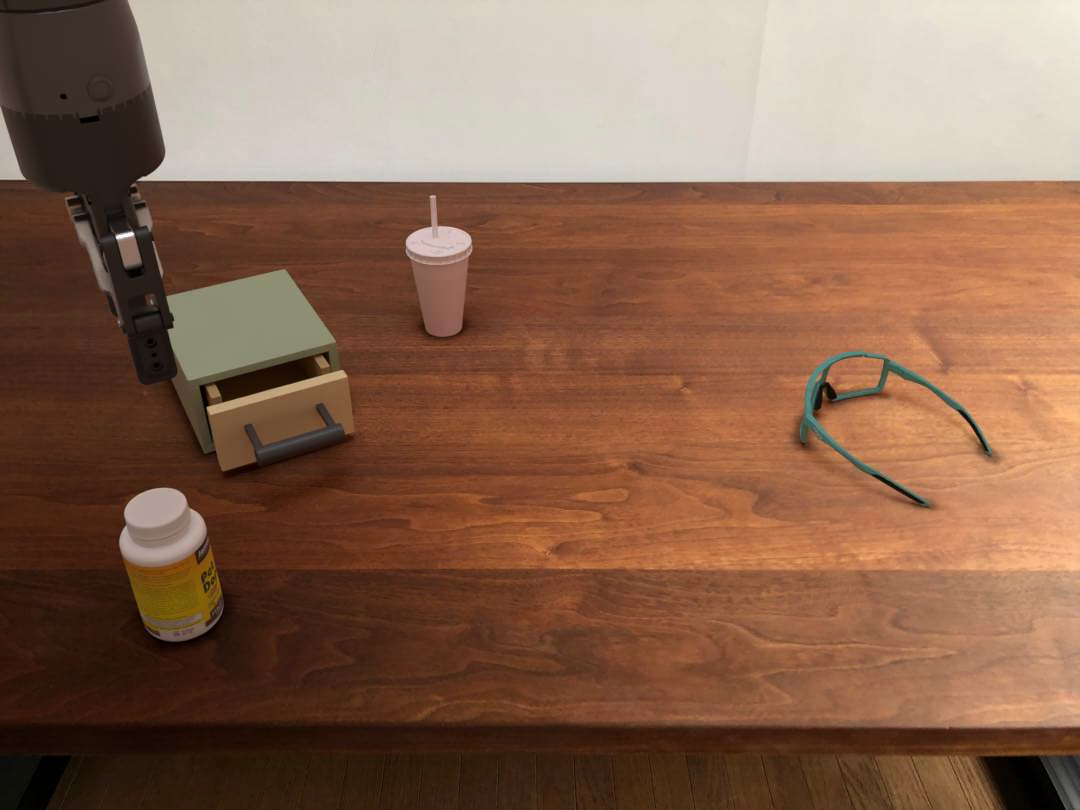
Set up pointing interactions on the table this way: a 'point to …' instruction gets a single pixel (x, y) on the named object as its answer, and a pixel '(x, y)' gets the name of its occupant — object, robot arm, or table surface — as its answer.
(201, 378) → the cabinet
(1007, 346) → the table surface
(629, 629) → the table surface
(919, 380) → the sunglasses
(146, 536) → the supplement bottle
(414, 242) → the smoothie
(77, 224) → the robot arm
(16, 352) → the table surface
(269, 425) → the drawer
